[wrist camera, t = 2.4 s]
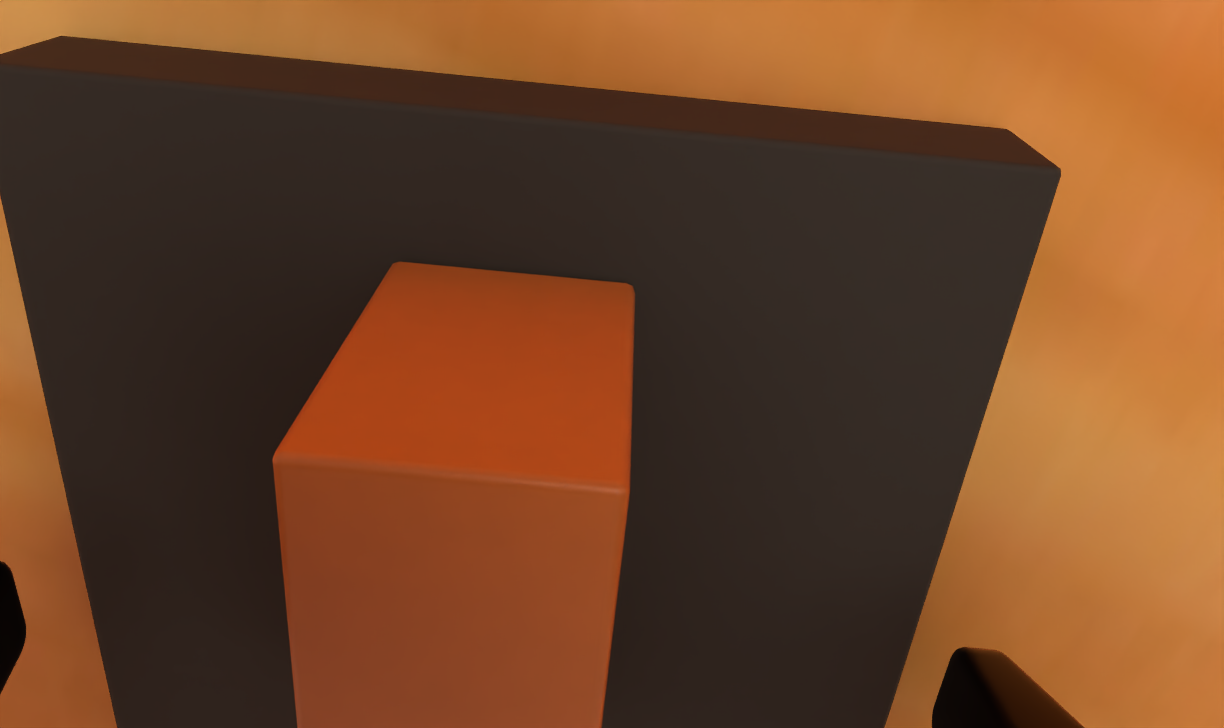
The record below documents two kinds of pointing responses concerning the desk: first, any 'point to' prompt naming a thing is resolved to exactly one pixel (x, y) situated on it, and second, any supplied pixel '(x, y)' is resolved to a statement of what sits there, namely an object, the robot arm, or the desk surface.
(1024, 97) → the desk surface
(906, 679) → the desk surface
